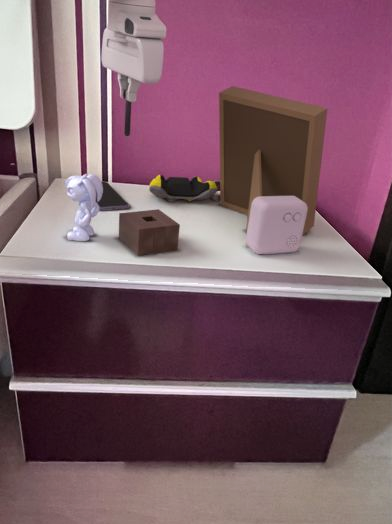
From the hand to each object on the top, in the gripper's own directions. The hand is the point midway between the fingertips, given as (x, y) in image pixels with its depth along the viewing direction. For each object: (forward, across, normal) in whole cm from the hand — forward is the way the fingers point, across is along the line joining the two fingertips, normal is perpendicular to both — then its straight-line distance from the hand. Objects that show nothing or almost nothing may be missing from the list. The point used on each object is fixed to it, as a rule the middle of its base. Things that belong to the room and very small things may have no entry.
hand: (128, 99), depth 114 cm
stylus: (+7, 0, 0) cm, 7 cm away
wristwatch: (+19, +7, +23) cm, 31 cm away
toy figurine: (+21, +18, -17) cm, 32 cm away
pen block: (+20, +25, -7) cm, 33 cm away
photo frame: (+20, +22, +20) cm, 36 cm away
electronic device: (+20, +35, +15) cm, 43 cm away
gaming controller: (+20, +4, +12) cm, 24 cm away
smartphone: (+20, -1, -5) cm, 21 cm away
